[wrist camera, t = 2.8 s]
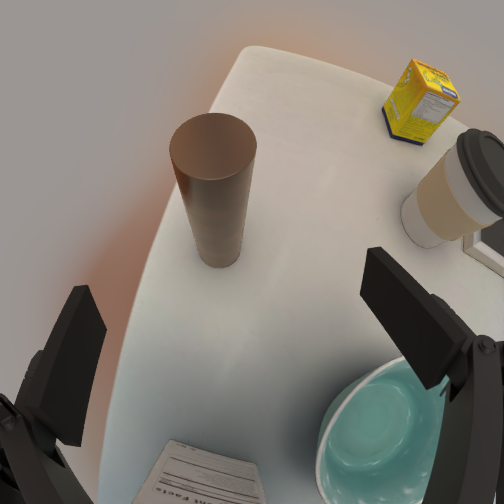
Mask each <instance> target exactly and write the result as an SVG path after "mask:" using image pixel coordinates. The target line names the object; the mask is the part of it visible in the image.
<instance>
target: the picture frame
mask: <svg viewBox="0 0 504 504" xmlns="http://www.w3.org/2000/svg"><path fill="white" fill-rule="evenodd" d="M463 251H464V252H466V253H467V254H469V255H470V256H472V257H473V258H475V259H477V260H478V261H480V262H481V263H483V264H484V265H486V266H487V267H489V268H490V269H492V270H493V271H495V272H496V273H498V274H499V275H501V276H502V277H503V278H504V218H502V219H500V220H497V221H496V222H495V223H494V224H492V225H490V226H488V227H486V228H483V229H481V230H478V231H476V232H474V233H471V234H469V235H466V236H464V246H463Z"/></svg>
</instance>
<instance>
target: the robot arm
mask: <svg viewBox="0 0 504 504" xmlns="http://www.w3.org/2000/svg"><path fill="white" fill-rule="evenodd" d="M360 296H361V297H362V298H363V300H364V301H365V302H366V304H367V305H368V307H369V308H370V309H371V311H372V312H373V313H374V315H375V316H376V318H377V319H378V320H379V322H380V323H381V324H382V326H383V327H384V329H385V330H386V332H387V333H388V334H389V336H390V337H391V339H392V340H393V341H394V343H395V344H396V346H397V347H398V349H399V350H400V352H401V353H402V355H403V356H404V357H405V359H406V360H407V362H408V363H409V365H410V366H411V368H412V369H413V371H414V372H415V374H416V375H417V377H418V378H419V380H420V382H421V383H422V385H423V386H424V388H425V389H426V391H427V390H429V389H431V388H433V387H435V386H437V385H439V384H440V383H441V382H442V380H443V378H444V377H445V375H447V377H448V378H449V381H448V382H447V384H446V385H445V387H444V388H443V390H442V391H441V392H440V395H439V396H440V397H442V395H443V394H444V392H445V391H446V396H445V404H444V411H443V418H442V424H441V430H440V435H439V440H438V445H437V450H436V454H435V459H434V463H433V467H432V471H431V474H430V478H429V482H428V485H427V488H426V491H425V495H424V498H423V501H422V504H493V502H494V497H495V492H496V504H504V341H499V342H495V341H494V340H493V339H492V338H490V337H488V336H486V335H478V336H476V335H475V334H474V332H473V331H472V330H471V329H470V328H469V327H468V326H467V325H466V323H465V322H464V321H463V320H462V319H461V318H460V317H459V316H458V315H457V314H455V312H454V311H453V309H452V308H451V309H450V306H449V305H448V304H447V303H446V302H445V301H444V300H443V299H441V298H440V297H438V296H436V295H435V294H429V293H428V292H427V291H426V290H425V289H424V288H423V287H422V286H421V285H420V284H419V283H418V282H417V281H416V280H415V279H414V278H413V277H412V276H411V275H410V274H409V273H408V272H407V271H406V270H405V269H404V268H403V267H402V266H401V265H400V264H399V263H398V262H397V261H395V260H394V259H393V258H392V257H391V256H390V255H389V254H388V253H387V252H386V251H385V250H384V249H383V248H382V247H374V248H368V249H367V256H366V262H365V268H364V274H363V279H362V285H361V290H360ZM106 331H107V329H106V326H105V324H104V322H103V320H102V318H101V315H100V313H99V311H98V309H97V306H96V304H95V301H94V299H93V297H92V294H91V292H90V289H89V287H88V285H82V286H74V288H73V290H72V292H71V293H70V295H69V297H68V299H67V301H66V303H65V305H64V307H63V309H62V311H61V313H60V315H59V317H58V319H57V322H56V323H55V325H54V328H53V330H52V332H51V334H50V336H49V339H48V341H47V343H46V345H45V348H44V350H39V351H38V352H37V353H36V354H35V356H34V357H33V358H32V359H31V362H30V364H29V367H28V371H26V374H25V379H23V382H22V384H21V387H20V390H19V392H18V395H17V398H16V401H15V404H14V405H13V404H12V403H11V402H10V401H9V400H8V398H7V397H6V396H5V395H3V394H1V393H0V504H94V503H93V502H92V501H91V499H90V498H89V496H88V495H87V493H86V492H85V490H84V489H83V487H82V486H81V485H80V483H79V481H78V480H77V478H76V477H75V475H74V473H73V472H72V470H71V468H70V467H69V465H68V463H67V462H66V460H65V458H64V456H63V454H62V453H61V451H60V449H59V448H58V447H57V445H56V444H55V443H56V438H57V439H59V440H60V441H61V442H62V443H63V444H64V445H70V446H76V447H81V442H82V435H83V429H84V424H85V418H86V412H87V408H88V403H89V398H90V393H91V389H92V384H93V380H94V376H95V372H96V368H97V364H98V360H99V356H100V353H101V349H102V345H103V342H104V338H105V334H106Z"/></svg>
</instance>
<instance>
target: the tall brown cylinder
mask: <svg viewBox="0 0 504 504" xmlns="http://www.w3.org/2000/svg"><path fill="white" fill-rule="evenodd" d="M169 148H170V149H169V151H170V156H171V160H172V164H173V168H174V171H175V175H176V178H177V182H178V185H179V189H180V192H181V195H182V199H183V202H184V205H185V209H186V212H187V215H188V219H189V222H190V225H191V228H192V231H193V235H194V238H195V241H196V244H197V247H198V250H199V253H200V256H201V258H202V259H203V261H204V262H205V263H206V264H208V265H209V266H212V267H215V268H224V267H227V266H230V265H231V264H233V263H234V262H235V261H236V260H237V258H238V256H239V254H240V250H241V243H242V237H243V230H244V224H245V217H246V211H247V205H248V198H249V192H250V186H251V179H252V173H253V167H254V161H255V155H256V148H257V142H256V138H255V135H254V133H253V131H252V130H251V128H250V127H249V126H248V125H247V124H246V123H245V122H243V121H242V120H240V119H238V118H236V117H234V116H231V115H228V114H223V113H207V114H202V115H199V116H196V117H193V118H191V119H189V120H188V121H186V122H185V123H183V124H182V125H181V126H180V127H179V128H178V129H177V130H176V131H175V133H174V135H173V137H172V139H171V142H170V147H169Z"/></svg>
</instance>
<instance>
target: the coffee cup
mask: <svg viewBox="0 0 504 504" xmlns="http://www.w3.org/2000/svg"><path fill="white" fill-rule="evenodd" d="M401 218H402V223H403V226H404V228H405V231H406V232H407V234H408V236H409V237H410V238H411V239H412V240H413V241H414V242H415V243H416V244H417V245H419V246H421V247H424V248H432V247H435V246H437V245H440V244H442V243H445V242H447V241H453V240H456V239H459V238H461V237H464V236H466V235H469V234H471V233H474V232H476V231H478V230H481V229H483V228H486V227H488V226H490V225H492V224H494V223H495V222H496V221H497V220H500V219H502V218H504V144H503V143H502V142H501V141H500V140H499V139H498V138H497V137H496V136H495V135H493V134H492V133H490V132H488V131H480V130H478V129H468V130H467V131H466V132H464V133H461V134H460V135H459V136H458V138H457V142H456V144H455V145H454V146H453V147H452V148H451V149H449V150H448V151H447V152H446V153H445V154H444V155H443V156H442V158H441V159H440V160H439V161H438V162H437V163H436V165H435V166H434V167H433V168H432V169H431V170H430V172H429V173H428V174H427V175H426V176H425V177H424V178H423V180H422V181H421V182H420V183H419V185H418V187H417V188H416V189H415V190H414V191H413V192H412V193H411V194H410V196H409V197H408V198H407V199H406V200H405V201H404V203H403V205H402V208H401Z"/></svg>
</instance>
